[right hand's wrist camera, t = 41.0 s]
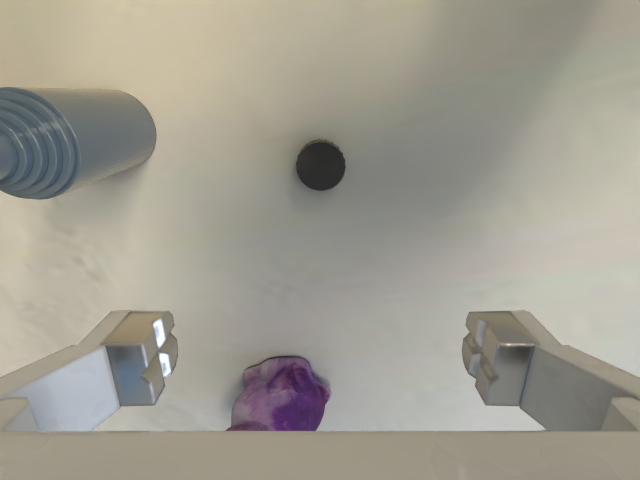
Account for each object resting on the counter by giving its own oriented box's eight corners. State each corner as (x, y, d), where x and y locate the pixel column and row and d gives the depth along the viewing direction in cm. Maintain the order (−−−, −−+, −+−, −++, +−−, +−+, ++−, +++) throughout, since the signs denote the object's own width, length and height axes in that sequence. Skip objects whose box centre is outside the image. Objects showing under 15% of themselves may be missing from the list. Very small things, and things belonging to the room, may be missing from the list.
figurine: (223, 385, 46) (181, 510, 32) (280, 336, 44) (261, 449, 30) (279, 426, 49) (262, 559, 35) (336, 382, 46) (343, 507, 32)
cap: (334, 193, 38) (335, 197, 36) (290, 176, 37) (289, 180, 35) (351, 149, 36) (353, 152, 34) (306, 131, 36) (306, 133, 34)
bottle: (102, 175, 37) (-70, 238, 21) (66, 102, 35) (-160, 108, 18) (168, 156, 37) (44, 205, 20) (136, 80, 34) (-34, 65, 18)
